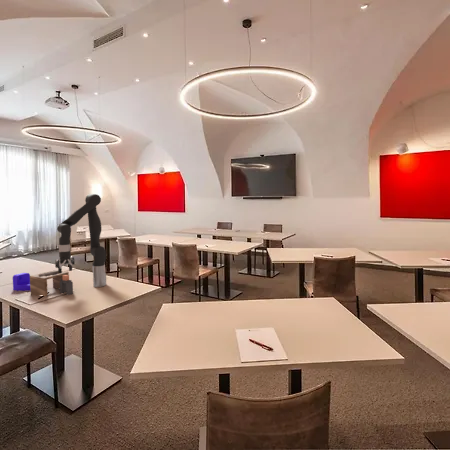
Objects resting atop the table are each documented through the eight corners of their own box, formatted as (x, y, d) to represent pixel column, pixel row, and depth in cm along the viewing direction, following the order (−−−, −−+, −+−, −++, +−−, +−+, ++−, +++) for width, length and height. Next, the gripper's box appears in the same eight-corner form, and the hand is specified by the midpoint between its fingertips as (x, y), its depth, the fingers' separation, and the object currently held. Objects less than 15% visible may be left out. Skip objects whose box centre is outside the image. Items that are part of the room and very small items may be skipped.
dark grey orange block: (64, 292, 224) (63, 274, 223) (73, 293, 221) (72, 275, 220) (60, 293, 221) (59, 275, 219) (68, 295, 217) (67, 276, 216)
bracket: (13, 290, 229) (12, 275, 228) (26, 286, 240) (25, 272, 239) (30, 292, 224) (29, 277, 223) (43, 288, 234) (42, 273, 233)
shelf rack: (55, 287, 237) (54, 268, 236) (69, 289, 231) (68, 270, 229) (30, 294, 219) (29, 274, 217) (45, 297, 212) (44, 276, 211)
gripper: (69, 248, 226) (70, 269, 227) (52, 251, 213) (53, 273, 214) (76, 249, 223) (77, 270, 224) (59, 252, 210) (60, 274, 211)
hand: (65, 271), depth 219 cm, fingers open, 8 cm apart
